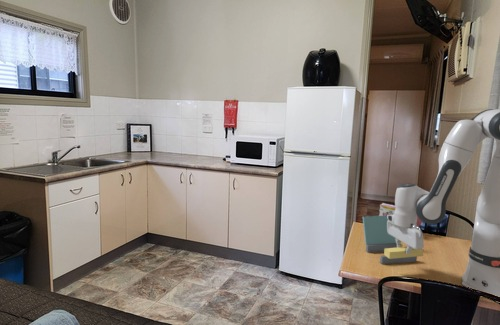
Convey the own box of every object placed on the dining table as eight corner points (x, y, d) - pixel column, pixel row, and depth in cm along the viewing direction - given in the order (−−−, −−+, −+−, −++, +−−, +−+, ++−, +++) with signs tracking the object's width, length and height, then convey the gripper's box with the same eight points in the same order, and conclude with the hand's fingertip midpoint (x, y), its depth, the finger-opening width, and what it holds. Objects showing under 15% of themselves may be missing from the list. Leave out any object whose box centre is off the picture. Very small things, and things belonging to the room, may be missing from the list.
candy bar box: (376, 231, 191) (379, 204, 188) (380, 228, 195) (382, 202, 192) (396, 236, 184) (399, 208, 181) (399, 233, 187) (402, 206, 185)
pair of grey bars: (416, 261, 153) (417, 254, 152) (381, 264, 149) (382, 257, 149) (397, 249, 166) (398, 242, 166) (365, 251, 163) (366, 244, 162)
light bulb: (422, 233, 189) (424, 213, 187) (418, 236, 184) (420, 216, 182) (410, 229, 194) (412, 210, 192) (405, 232, 189) (407, 213, 187)
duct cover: (395, 215, 168) (393, 215, 169) (363, 216, 165) (362, 216, 166) (398, 242, 166) (397, 242, 167) (366, 244, 162) (365, 244, 163)
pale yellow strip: (422, 255, 141) (423, 249, 141) (389, 258, 138) (389, 252, 138) (416, 252, 145) (417, 245, 145) (384, 254, 142) (384, 248, 142)
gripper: (428, 228, 130) (426, 260, 132) (397, 213, 150) (395, 241, 152) (414, 229, 129) (412, 261, 131) (384, 214, 149) (383, 243, 151)
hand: (403, 251), depth 141 cm, fingers closed on pale yellow strip, 4 cm apart
